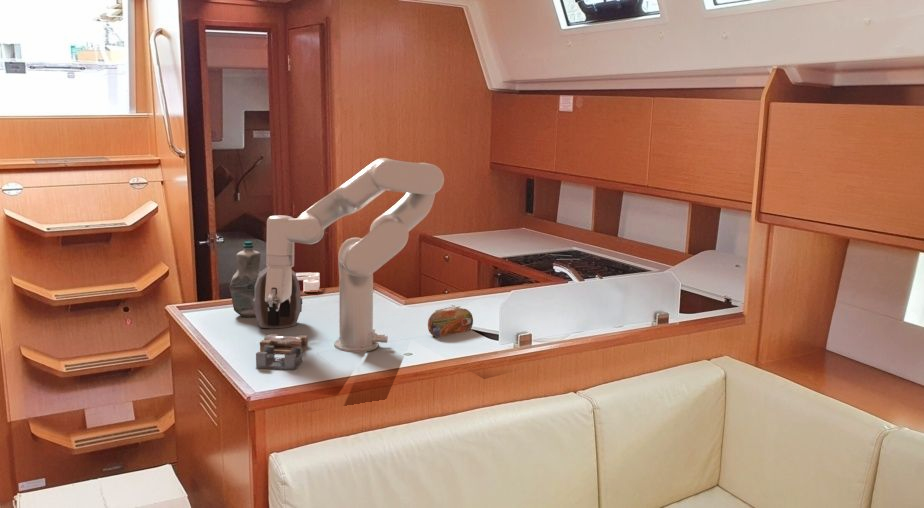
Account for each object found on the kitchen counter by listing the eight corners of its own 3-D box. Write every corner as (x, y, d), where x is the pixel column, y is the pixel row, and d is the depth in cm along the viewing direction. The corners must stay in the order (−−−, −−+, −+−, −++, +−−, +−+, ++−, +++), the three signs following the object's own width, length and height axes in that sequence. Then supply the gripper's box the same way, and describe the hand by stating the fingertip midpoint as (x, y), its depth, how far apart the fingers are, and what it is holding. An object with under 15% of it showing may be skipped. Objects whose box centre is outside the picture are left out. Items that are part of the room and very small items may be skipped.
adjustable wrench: (441, 316, 243) (441, 310, 243) (423, 314, 246) (423, 309, 246) (473, 309, 266) (473, 304, 266) (457, 308, 268) (457, 303, 268)
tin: (431, 340, 226) (431, 313, 224) (426, 338, 228) (426, 310, 227) (473, 334, 234) (474, 307, 232) (467, 331, 236) (468, 305, 235)
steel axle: (302, 344, 214) (301, 335, 213) (299, 349, 211) (299, 339, 210) (267, 343, 215) (266, 333, 214) (264, 347, 212) (263, 338, 211)
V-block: (302, 361, 202) (302, 347, 202) (294, 370, 195) (294, 355, 195) (265, 359, 203) (265, 345, 202) (256, 368, 196) (255, 353, 195)
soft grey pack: (253, 332, 230) (252, 267, 227) (252, 325, 238) (250, 262, 235) (304, 328, 235) (303, 265, 232) (300, 322, 243) (300, 260, 239)
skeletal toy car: (270, 300, 272) (269, 280, 271) (265, 294, 282) (264, 274, 281) (325, 296, 280) (325, 277, 279) (318, 290, 290) (318, 271, 289)
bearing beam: (307, 345, 217) (307, 335, 216) (299, 354, 209) (299, 343, 208) (269, 344, 218) (269, 334, 217) (260, 352, 209) (259, 342, 209)
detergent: (270, 313, 253) (269, 239, 249) (273, 318, 247) (272, 242, 242) (229, 316, 248) (227, 240, 244) (231, 321, 242) (229, 244, 238)
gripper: (276, 254, 218) (275, 312, 220) (256, 264, 201) (255, 327, 203) (302, 256, 217) (301, 314, 220) (284, 266, 200) (283, 329, 203)
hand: (279, 320), depth 212 cm, fingers open, 9 cm apart
